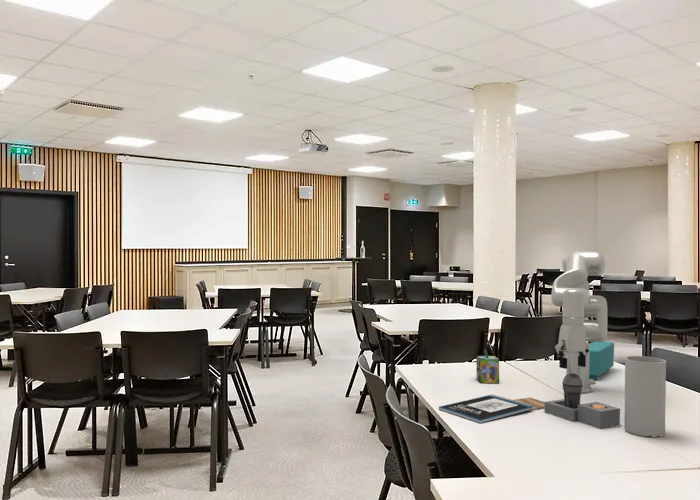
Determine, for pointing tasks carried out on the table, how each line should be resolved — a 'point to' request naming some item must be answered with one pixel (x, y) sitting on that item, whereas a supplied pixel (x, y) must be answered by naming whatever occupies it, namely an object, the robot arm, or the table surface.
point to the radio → (600, 358)
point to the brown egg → (598, 406)
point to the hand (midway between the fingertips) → (572, 367)
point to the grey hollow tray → (585, 413)
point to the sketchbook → (486, 408)
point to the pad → (532, 403)
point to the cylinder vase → (645, 395)
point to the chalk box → (487, 369)
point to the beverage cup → (572, 389)
